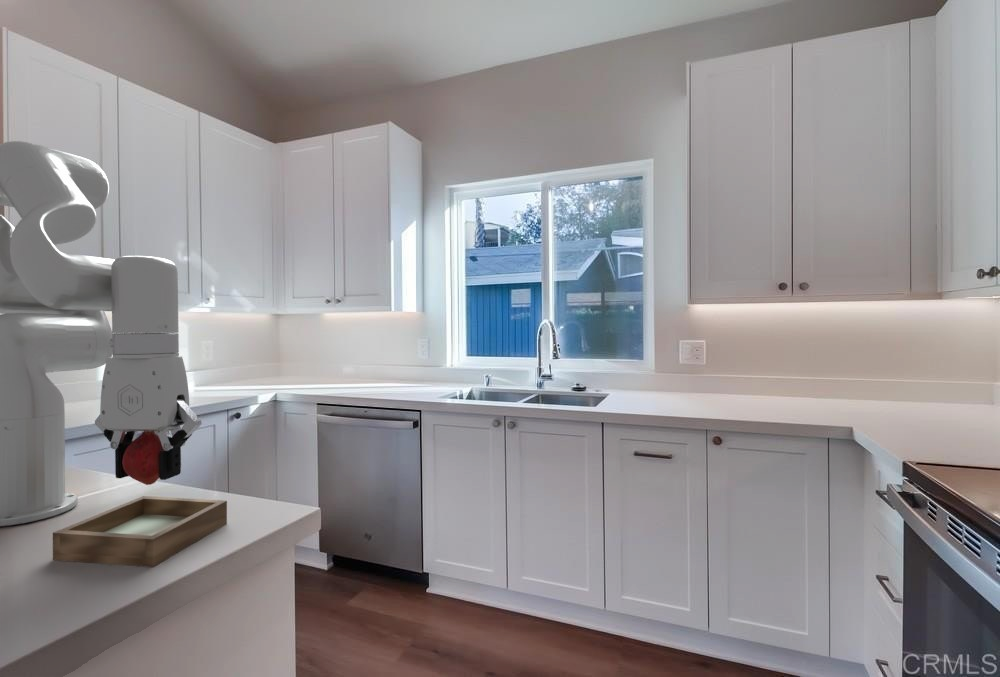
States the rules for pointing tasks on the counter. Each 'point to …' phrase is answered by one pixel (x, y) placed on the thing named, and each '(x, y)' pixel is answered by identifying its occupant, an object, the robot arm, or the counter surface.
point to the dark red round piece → (143, 458)
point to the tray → (140, 531)
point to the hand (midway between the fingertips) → (148, 475)
